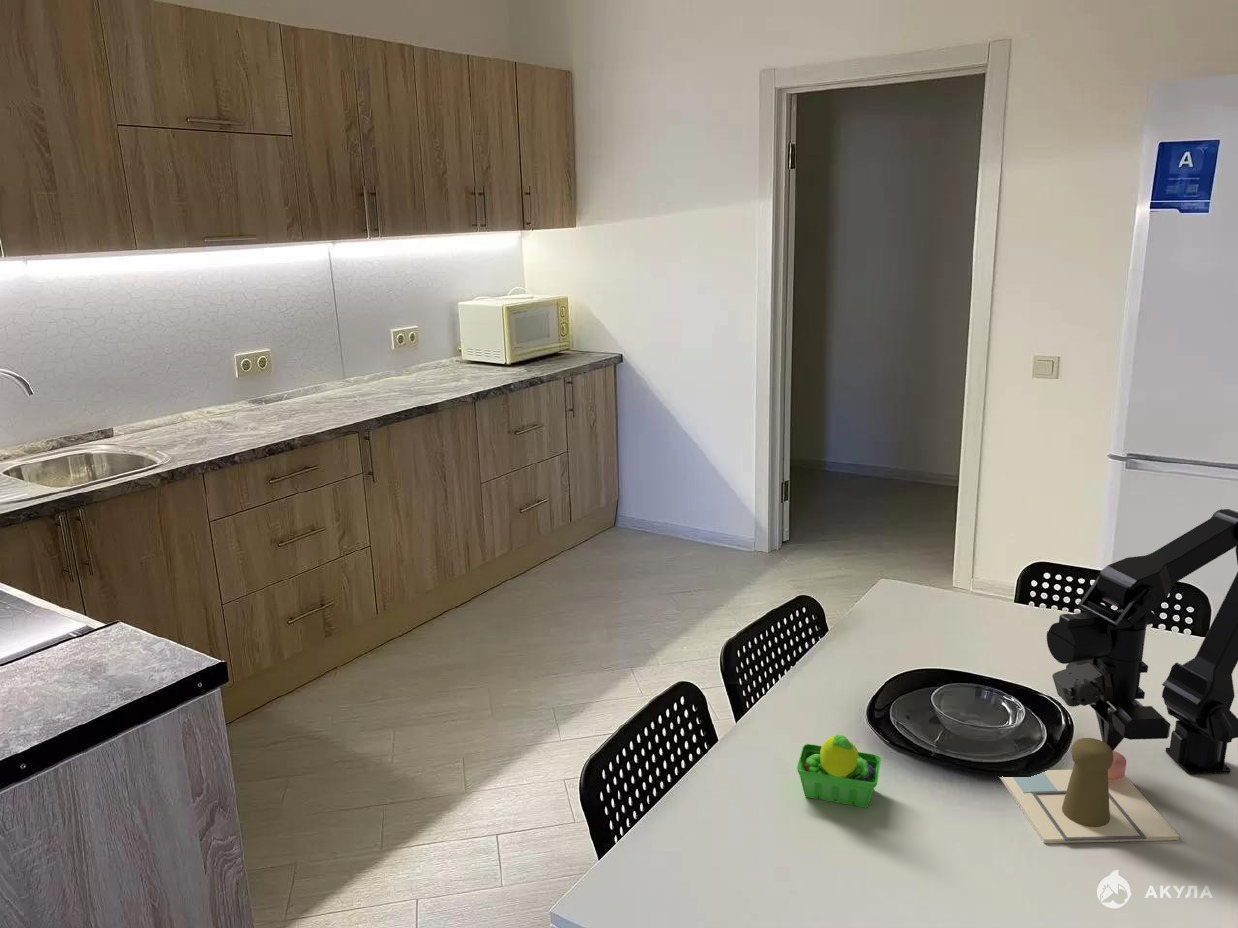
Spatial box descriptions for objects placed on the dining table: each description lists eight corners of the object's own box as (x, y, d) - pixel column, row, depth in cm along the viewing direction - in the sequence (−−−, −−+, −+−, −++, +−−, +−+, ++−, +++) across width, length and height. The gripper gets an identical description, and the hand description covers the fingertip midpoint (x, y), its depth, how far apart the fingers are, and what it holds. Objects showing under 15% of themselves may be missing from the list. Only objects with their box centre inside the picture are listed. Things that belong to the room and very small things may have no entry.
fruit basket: (880, 784, 142) (883, 716, 139) (875, 820, 134) (878, 748, 131) (802, 772, 145) (804, 705, 142) (793, 805, 137) (795, 736, 134)
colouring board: (1118, 771, 143) (1118, 766, 143) (1180, 841, 127) (1181, 836, 127) (998, 774, 143) (998, 769, 143) (1045, 845, 127) (1045, 839, 127)
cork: (1115, 828, 129) (1124, 757, 126) (1068, 824, 130) (1076, 753, 127) (1102, 802, 135) (1110, 733, 132) (1056, 798, 136) (1063, 730, 133)
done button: (1114, 759, 143) (1115, 747, 143) (1131, 778, 138) (1133, 766, 138) (1080, 760, 143) (1082, 748, 143) (1097, 779, 138) (1098, 767, 138)
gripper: (1035, 626, 145) (1027, 718, 149) (1094, 685, 127) (1083, 788, 131) (1109, 624, 145) (1098, 716, 149) (1178, 683, 127) (1164, 786, 131)
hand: (1108, 749), depth 140 cm, fingers closed
